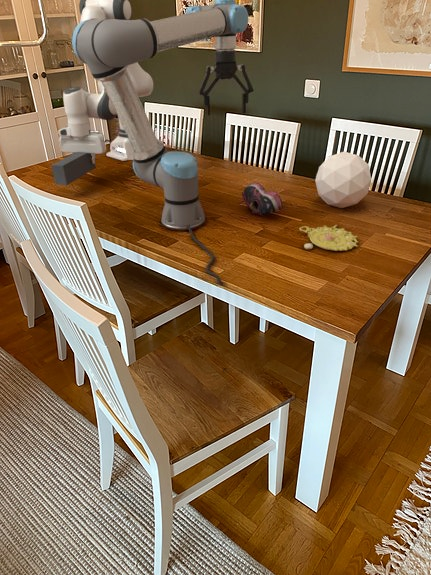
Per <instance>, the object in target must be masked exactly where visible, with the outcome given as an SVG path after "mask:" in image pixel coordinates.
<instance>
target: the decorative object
mask: <svg viewBox="0 0 431 575" xmlns="http://www.w3.org/2000/svg"><path fill="white" fill-rule="evenodd" d="M303 228H304V229H305V230H304V229H303ZM299 231H300V232H303V233H305V234H307V237H308V238H309V240H310V241H311V243H304V244H303V248H304V249H305V250H313V249H314V245H315V246H316V247H318V248H321V249H324V250H328V251H335V252H341V251H348V250H352V249H354V247H356V248H358V247H359V245H358V244H357V243H359V240H357V238H359V237H358V235H353V234H352V231H347V230H346V229H345V228H344V227H342V228H338V224H335V225H333V226H331V227H328V226H327V225H326V224H325V225H323V226H322V227H321V226H317V227H316V228H314V227H309V226H308V225H302V226H300V227H299ZM313 244H314V245H313Z"/></svg>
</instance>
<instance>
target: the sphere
mask: <svg viewBox="0 0 431 575" xmlns="http://www.w3.org/2000/svg"><path fill="white" fill-rule="evenodd" d="M314 181H315V186H316V189H317V190H316V191H317V195H318V196H319V197H320V199H322V201H324V202H325V203H326V205H329V206H332V207H336V208H340V209H344V208H347V207H351V206H354V205H357V204H359V202H360V201H361V200H362V199H364V198H365V197H366V196H367V195H368V193H369V190H370V186H371V182H372V176H371V170H370V164H368V163H367V162H366V161H365V160H364V159H363V158H362V157H361V156H360V155H358V154H355V153H351V152H347V151H341V152H338V153H335V154H331V155H329V156H328V157H327V158H326V159H325V160H324V161H323V162H322V163H321V165H319V166H318V170H317V173H316V176H315V180H314Z"/></svg>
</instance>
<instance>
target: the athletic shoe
mask: <svg viewBox="0 0 431 575" xmlns="http://www.w3.org/2000/svg"><path fill="white" fill-rule="evenodd" d="M241 197H242V199H243V201H238V203H239V204H241V205H245V206H246V207H247V208H248V210H249V211H250V210H251V213H252V214H255V215H260V217H266V216H267V215H270V214H274V213H275V212H279V211H282V210H283V209H284V205H283V201H282V198H281V196H280V195H279V194H278V192H277V191H274V190H269V191H267V190H266V189H265V187H264V186H263V185H262V184H261V183H258V182H251V183H249V184H247V186H246V187H245V188H244V190H243V191H242V192H241Z"/></svg>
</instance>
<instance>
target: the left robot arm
mask: <svg viewBox="0 0 431 575" xmlns="http://www.w3.org/2000/svg"><path fill="white" fill-rule="evenodd" d="M78 9H79V13H80V22H79V23H81V22H82V21H85V20H89V19H93V18H94V19H118V20H131V18H132V14H133V12H132V11H133V10H132V9H133V8H132V4H131V2H130V0H79V4H78ZM127 71H128V73H129V76H130V78H131V80H132V83H133V85H134V87H135V90H136V92H137V94H138V97H139V98H143V97H147V96H150V95H151V94H152V93H153V91H154V80H153V77H152V76H151V75H150V74H149V73H148V72H147V71H145V70H144V69H143V68H142V67H141V65H140V64H139V62H137V63H134V64H131V65H128V68H127ZM97 88H98V91H99V93H92V92H89V91H85V89H83V88H82V87H81V86H70V87H67V88H66V89H64V90H63V93H62V100H63V107H64V112H65V114H66V117H67V126H65V127H62V128H61V129H59V130H58V132H57V133H58V135H59V137H58V142H59V149H60V150H61V152H62V153H68V154H69V153H71V154H74V153H76V152H85V153H90V154H91V156H93V157H92V159H91V160H90V163H91V164H95V165H96V158H97V155H103V154H105V153H106V154H105V155H106V156H107V157H110V158H112V159H116V160H119V161H122V162H125V161H134V160H133V157H132V152H133V150H134V149H133V147H132V144H131V142H130V140H129V138H128V136H127V134H126V132H125V130H124V128H123V126H122V124H121V122H120V120H119V118H118V115H117V113H116V111H115V109H114V107H113V105H112V103H111V101H110V99H109V97H108V95H107V93H106V91H105V89H104V86H103V84H102V82H101V81H99V80H97ZM116 118H118V124H119V128H117V129H116V131H115V132H116V133H117V134H118V135H117V136H116V137H115V138H114V139H113V140H112V141H111V140H110V139H105V135H104V133H103V132H102V131H100V130H94V129H93V130H92V127H91V122H90V119H97V120H104V121H108V122H111V121H113V120H115V119H116ZM107 142H108V143H109V145H110V146H109V148H110V151H108V152H107V150H108V149H107V144H106V143H107Z"/></svg>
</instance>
